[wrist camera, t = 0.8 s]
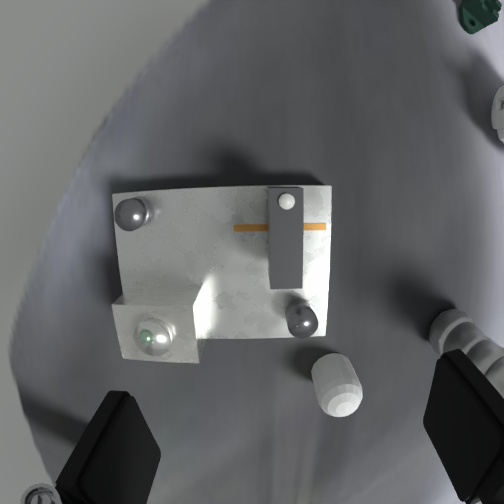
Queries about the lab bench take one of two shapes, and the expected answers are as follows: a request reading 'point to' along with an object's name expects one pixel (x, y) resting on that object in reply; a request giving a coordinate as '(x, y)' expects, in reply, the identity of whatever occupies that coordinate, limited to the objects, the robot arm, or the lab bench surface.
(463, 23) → the mount
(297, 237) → the block
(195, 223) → the levelling base
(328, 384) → the capsule
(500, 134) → the mechanical part
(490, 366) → the plastic bottle
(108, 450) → the robot arm
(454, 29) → the lab bench surface
